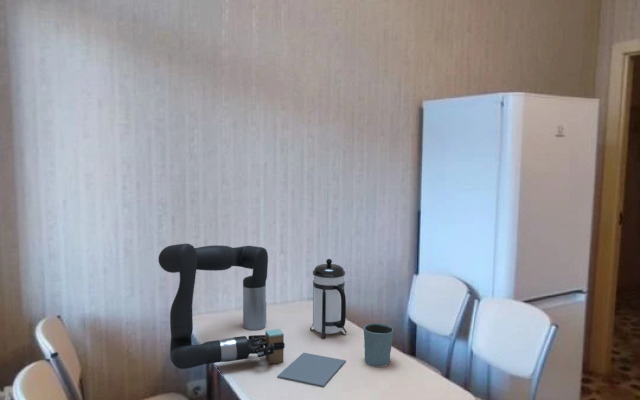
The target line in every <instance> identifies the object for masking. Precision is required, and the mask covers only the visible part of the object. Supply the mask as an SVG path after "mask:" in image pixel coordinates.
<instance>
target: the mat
mask: <svg viewBox="0 0 640 400" xmlns="http://www.w3.org/2000/svg"><path fill="white" fill-rule="evenodd" d="M345 364H346V360H345V359H340V358H337V357H335V358H334V357H330V356H323V355H319V354H313V353H308V352H303V353H301V354H300V355H299V356H298V357H296V358H295V360H294V361H292V362H291V363H290V364H289V365H288V366H286V367H285V368H284V369H283V370H282V371H281V372H280V373H279V374H278V375H277V376H276V377H277V379H281V380H287V381H292V382H295V383H296V382H297V383H300V384H306V385H309V386H315V387H321V388H325V387H326V385H328V383H329V382H330V381H331V379H332V378H333V377H335V376H336V373H338V372H339V370H341V368H342V367H343V366H344V365H345Z"/></svg>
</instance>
